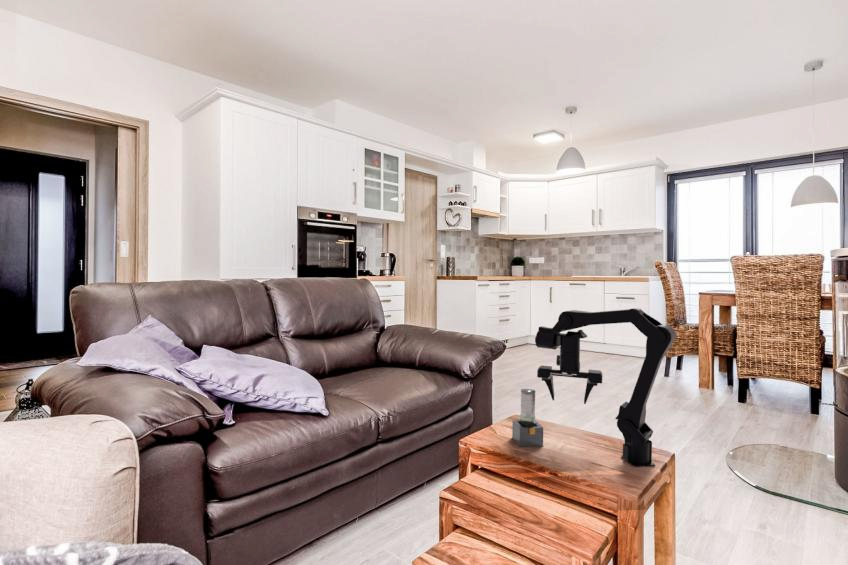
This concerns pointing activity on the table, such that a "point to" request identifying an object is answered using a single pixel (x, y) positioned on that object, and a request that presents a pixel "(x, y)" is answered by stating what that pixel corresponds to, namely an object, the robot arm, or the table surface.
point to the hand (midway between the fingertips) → (568, 401)
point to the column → (527, 408)
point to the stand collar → (527, 434)
